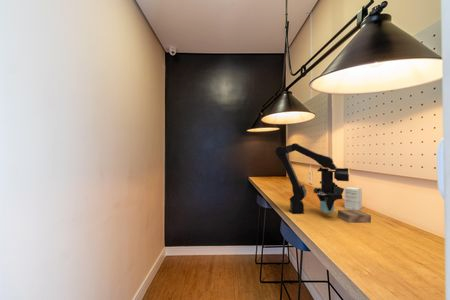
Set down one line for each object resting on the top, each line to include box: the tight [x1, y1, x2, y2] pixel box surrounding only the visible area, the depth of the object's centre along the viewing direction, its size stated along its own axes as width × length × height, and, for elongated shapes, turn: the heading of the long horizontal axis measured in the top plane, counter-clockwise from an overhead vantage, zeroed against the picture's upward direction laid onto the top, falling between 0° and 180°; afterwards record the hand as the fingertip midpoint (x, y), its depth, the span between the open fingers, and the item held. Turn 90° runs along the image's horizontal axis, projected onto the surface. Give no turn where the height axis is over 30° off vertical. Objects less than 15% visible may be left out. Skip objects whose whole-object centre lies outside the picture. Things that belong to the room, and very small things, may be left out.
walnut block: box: [337, 209, 372, 224], centre depth 114 cm, size 11×10×4 cm
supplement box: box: [344, 186, 363, 211], centre depth 136 cm, size 7×7×13 cm
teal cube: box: [319, 200, 335, 214], centre depth 119 cm, size 5×5×5 cm
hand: (326, 209), depth 119 cm, fingers closed on teal cube, 5 cm apart
